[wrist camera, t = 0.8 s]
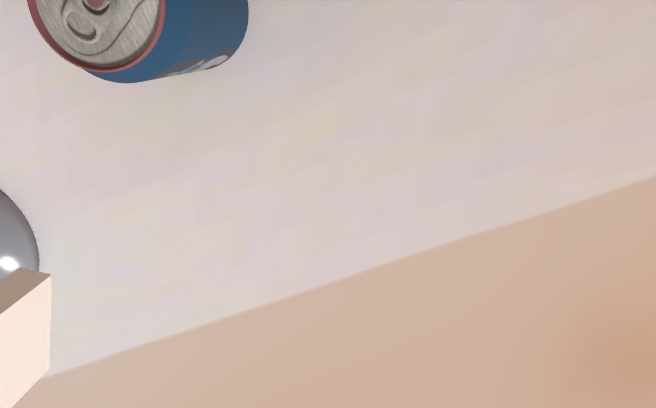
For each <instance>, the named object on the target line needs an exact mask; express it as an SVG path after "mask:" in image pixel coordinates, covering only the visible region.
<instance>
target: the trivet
mask: <svg viewBox="0 0 656 408" xmlns="http://www.w3.org/2000/svg"><path fill="white" fill-rule="evenodd" d="M20 267H22V268H26V269H30V270H34V271H38V272H39V252H38V247H37V243H36V240H35V237H34V234H33V232H32V230H31V227H30V225H29V223H28V222H27V220H26V218H25V217H24V215H23V214H22V212H21V211H20V210H19V209H18V207H17V206H16V205H15V204H14V203H13V202H12V201H11V200H10V199H9V198H8V197H7V196H6V195H5V194H4V193H3V192H2V191H0V281H1V280H2V279H4V278H5V277H7V276H8V275H9V274H11V273H12V272H14V271H15V270H17V269H18V268H20Z"/></svg>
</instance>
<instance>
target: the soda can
mask: <svg viewBox="0 0 656 408" xmlns="http://www.w3.org/2000/svg"><path fill="white" fill-rule="evenodd" d="M27 3H28V7H29V10H30V13H31V16H32V18H33V21H34V23H35V25H36V27H37V29H38V30H39V32H40V34H41V35H42V37H43V38H44V39H45V41H46V42H47V43H48V44H49V45H50V47H51V48H52V49H53V50H54V51H55V52H57V53H58V54H59V55H60V56H61V57H63V58H64V59H65V60H67V61H69V62H70V63H72V64H74V65H76V66H78V67H80V68H82V69H84V70H85V71H87V72H89V73H90V74H92V75H94V76H97V77H99V78H101V79H104V80H108V81H112V82H117V83H136V82H142V81H147V80H153V79H158V78H164V77H169V76H174V75H180V74H185V73H191V72H196V71H201V70H207V69H211V68H214V67H216V66H218V65H220V64H222V63H224V62H225V61H226V60H228V59H229V58H230V57H231V56H232V55H233V54H234V53H235V52H236V50H237V49H238V48H239V46H240V44H241V43H242V41H243V38H244V36H245V33H246V29H247V25H248V13H249V12H248V2H247V0H27Z"/></svg>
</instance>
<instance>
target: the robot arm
mask: <svg viewBox="0 0 656 408" xmlns="http://www.w3.org/2000/svg"><path fill="white" fill-rule="evenodd" d="M51 288H52V275H50V274H46V273H42V272H38V271H34V270H30V269H26V268H22V267H20V268H18V269H17V270H15V271H14V272H12V273H11V274H9V275H8V276H7V277H5V278H4V279H2V280H1V281H0V408H12V407H13V406H14V404H15V403H16V402H17V401H18V400H19V399H20V398H21V397H22V396H23V395H24V394H25V393H26V392H27V391H28V390H29V389H30V388H31V387H32V386H33V385H34V384H35V383H36V382H37V381H38V379H39V378H40V377H41V376H42V375H43V374H44V373H45V372H46V371H47V370H48V369H49V360H50V324H51Z"/></svg>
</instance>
